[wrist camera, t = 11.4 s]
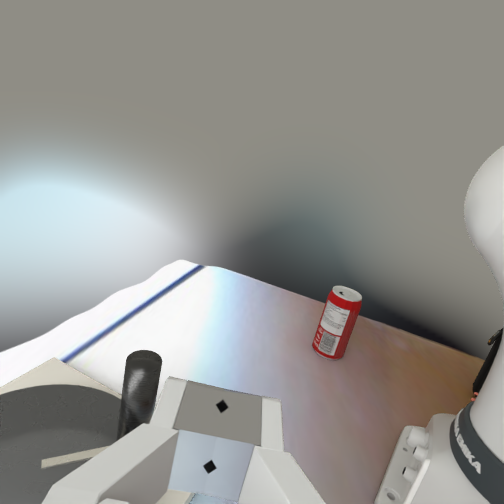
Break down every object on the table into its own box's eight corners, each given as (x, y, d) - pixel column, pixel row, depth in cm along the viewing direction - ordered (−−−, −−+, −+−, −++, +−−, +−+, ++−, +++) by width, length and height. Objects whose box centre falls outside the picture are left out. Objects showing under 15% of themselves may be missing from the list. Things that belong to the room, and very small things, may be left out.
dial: (-205, 708, 19) (-261, 566, 15) (-82, 412, 35) (-93, 308, 31) (177, 561, 28) (203, 453, 24) (134, 383, 44) (145, 301, 41)
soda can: (339, 346, 67) (360, 288, 63) (344, 364, 62) (367, 302, 58) (310, 339, 67) (329, 280, 63) (312, 357, 62) (333, 294, 58)
